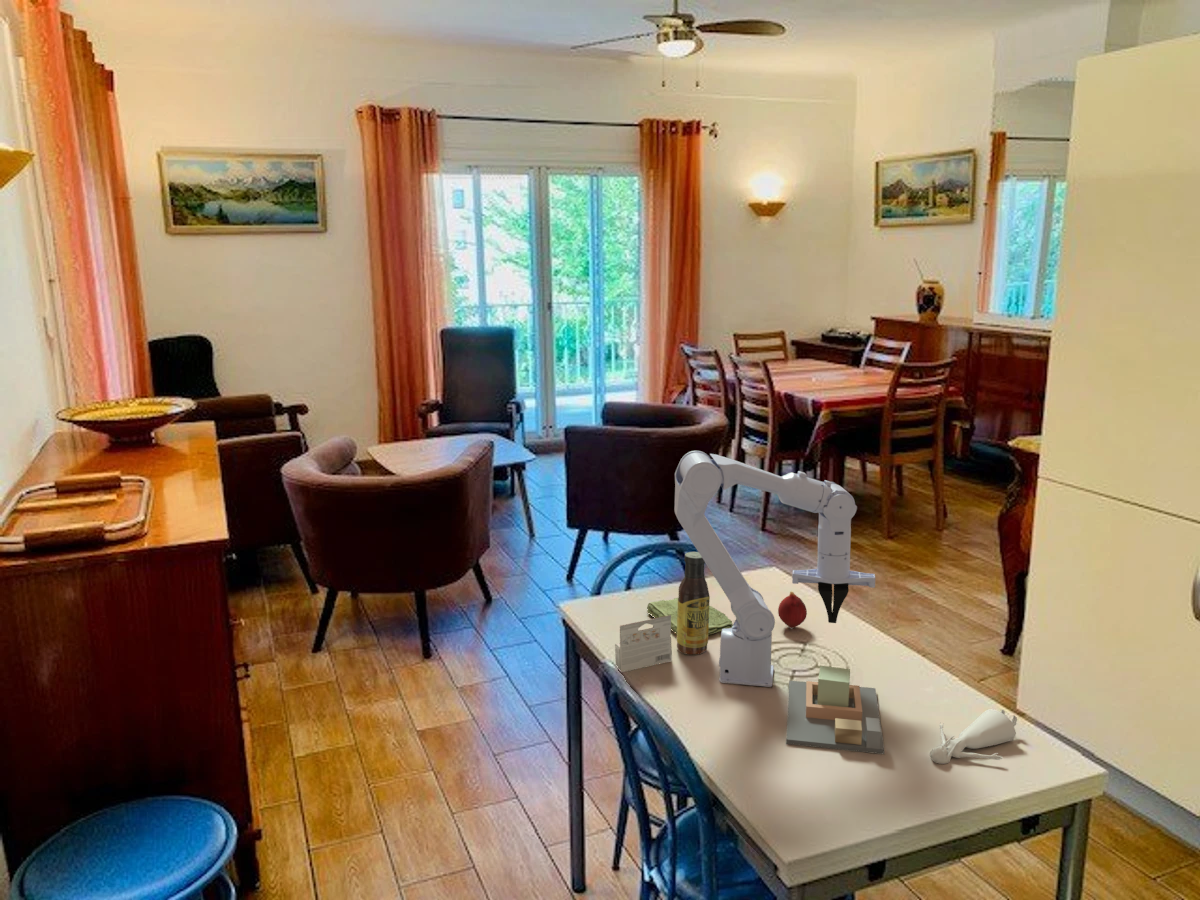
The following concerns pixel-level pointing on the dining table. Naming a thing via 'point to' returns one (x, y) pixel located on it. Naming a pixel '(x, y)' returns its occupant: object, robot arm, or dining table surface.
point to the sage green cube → (833, 686)
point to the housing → (832, 718)
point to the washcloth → (671, 608)
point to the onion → (792, 610)
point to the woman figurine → (977, 737)
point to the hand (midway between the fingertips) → (832, 620)
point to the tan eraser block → (848, 731)
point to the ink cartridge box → (644, 644)
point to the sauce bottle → (693, 607)
